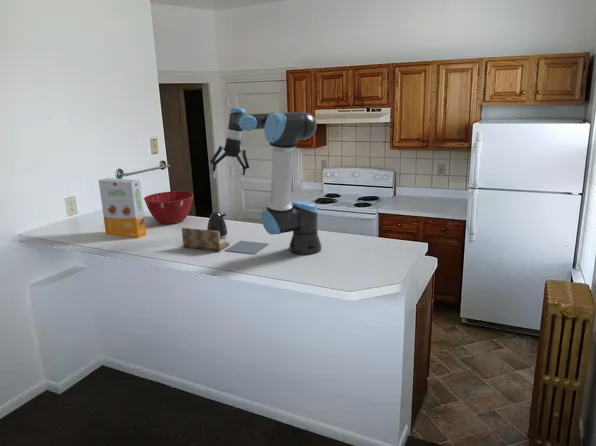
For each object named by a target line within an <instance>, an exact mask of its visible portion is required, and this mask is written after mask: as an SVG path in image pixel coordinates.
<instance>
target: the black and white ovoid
mask: <svg viewBox="0 0 596 446" xmlns="http://www.w3.org/2000/svg"><path fill="white" fill-rule="evenodd" d="M225 216H227V213H223V214H222V213H220V212H219V211H213V212H212V213H211V214H210V216H209V219H208V223H207V226H206V227H207V229H206V230H212V231H219V232H220V239H224V240H226V239H227V236H228V228H227V225H226V221H225V219H224V217H225Z"/></svg>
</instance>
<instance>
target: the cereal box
mask: <svg viewBox="0 0 596 446" xmlns="http://www.w3.org/2000/svg"><path fill="white" fill-rule="evenodd" d="M141 185H142V184H141V180H140V179H127V178H126V179H125V178H113V177H112V178H111V177H107V178H102V179H101V178H100V179H98V187H99V193H100V200H101V207H102V215H103V221H104V229H105V235H110V236H117V237H125V238H132V239H133V238H134V239H140V238H142V237H145V236H147V232H146V231H147V230H146V229H147V228H146V222H145V212H144V206H143V205H144V204H143V196H142V187H141Z"/></svg>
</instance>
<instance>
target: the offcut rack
mask: <svg viewBox="0 0 596 446" xmlns="http://www.w3.org/2000/svg"><path fill="white" fill-rule="evenodd" d="M181 236H182V246H183V249H189V248H191V250H197V249H199V250H200V251H205V252H206V251H207V252H215V253H216V252H217V253H220V252H222V251H223V250H226V249H227V248H229V247H230V242H226V241H225V240H226V239H220V232H219V231H212V230H207V229H199V228H190V227H182V228H181Z"/></svg>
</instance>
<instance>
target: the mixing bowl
mask: <svg viewBox="0 0 596 446" xmlns="http://www.w3.org/2000/svg"><path fill="white" fill-rule="evenodd" d="M193 198H194V193H192V192H190V191H183V190H182V191H181V190H177V191H176V190H175V191H173V190H172V191H162V192H158V193H157V192H155V193H152V194H149V195H147V196H146V195H145V197H144V198H143V200H144V202H145V205H146V207H147V209H148V211H149V213H150V214H151V216H152V218H153V219H154V220H156V221H157V222H158V223H160V224H163V225H173V224H178V223H179V224H180V223H182V222H184V220H185V219H187V217H188V215H189V213H190V211H191V209H192V208H191V207H192V204H193Z"/></svg>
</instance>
